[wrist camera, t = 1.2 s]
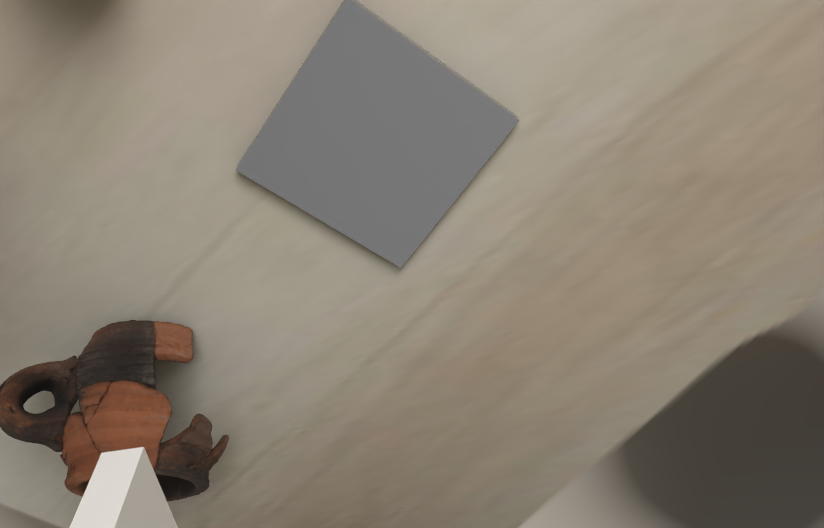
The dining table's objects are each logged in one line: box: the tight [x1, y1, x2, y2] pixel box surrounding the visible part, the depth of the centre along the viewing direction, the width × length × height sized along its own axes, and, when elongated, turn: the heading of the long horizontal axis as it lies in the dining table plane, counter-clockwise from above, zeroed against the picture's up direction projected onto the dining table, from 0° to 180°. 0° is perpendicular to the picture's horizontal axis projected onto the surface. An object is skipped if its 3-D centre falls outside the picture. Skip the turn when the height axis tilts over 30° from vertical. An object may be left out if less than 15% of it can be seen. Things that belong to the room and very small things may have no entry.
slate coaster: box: [236, 0, 519, 268], centre depth 37 cm, size 10×10×1 cm
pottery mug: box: [0, 320, 229, 501], centre depth 41 cm, size 12×9×8 cm
